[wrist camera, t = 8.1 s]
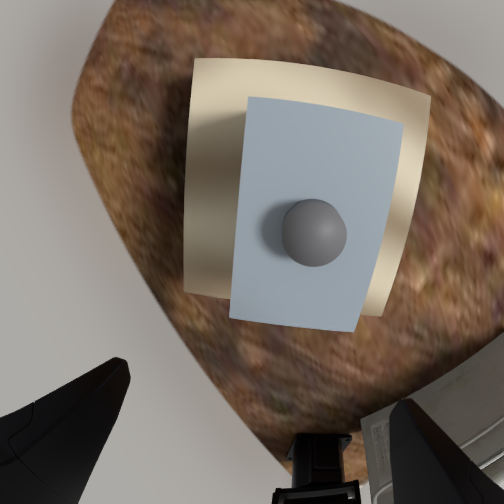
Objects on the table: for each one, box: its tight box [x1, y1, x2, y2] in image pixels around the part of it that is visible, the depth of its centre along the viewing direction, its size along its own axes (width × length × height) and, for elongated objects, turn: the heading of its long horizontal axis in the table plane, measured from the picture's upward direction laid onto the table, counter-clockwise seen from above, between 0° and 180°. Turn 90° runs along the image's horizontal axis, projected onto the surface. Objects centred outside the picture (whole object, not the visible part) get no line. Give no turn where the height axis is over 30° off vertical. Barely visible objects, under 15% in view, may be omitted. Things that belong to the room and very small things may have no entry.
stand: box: [184, 58, 431, 317], centre depth 15 cm, size 13×12×3 cm
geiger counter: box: [360, 332, 504, 504], centre depth 15 cm, size 14×6×25 cm
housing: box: [229, 96, 404, 332], centre depth 11 cm, size 8×5×6 cm, turn 174°
